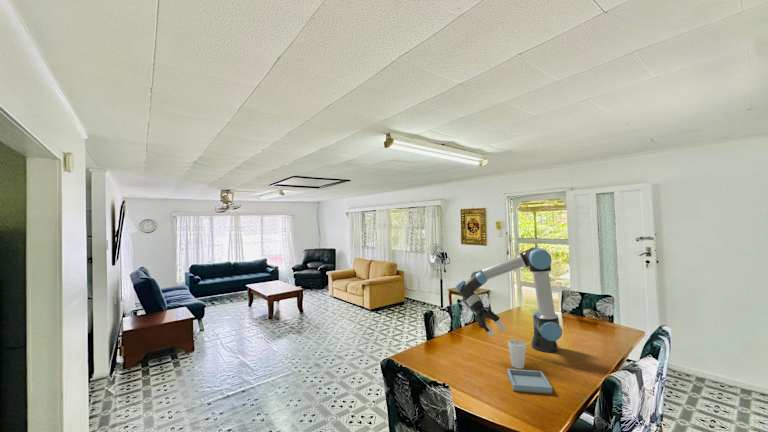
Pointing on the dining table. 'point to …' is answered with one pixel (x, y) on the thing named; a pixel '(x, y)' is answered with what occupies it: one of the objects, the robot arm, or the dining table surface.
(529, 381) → the tray
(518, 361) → the foam cup
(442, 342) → the dining table surface
